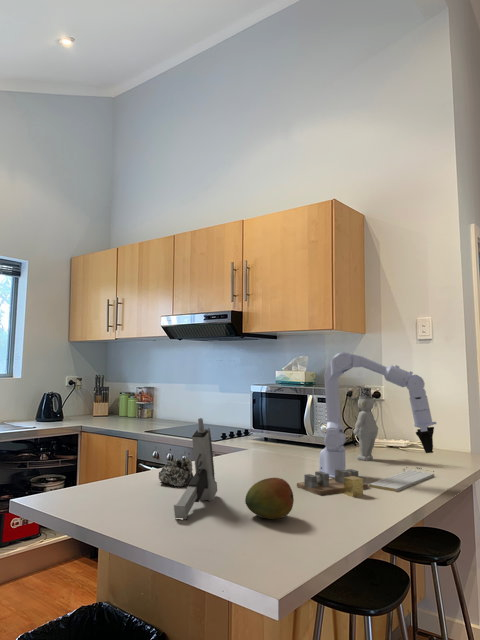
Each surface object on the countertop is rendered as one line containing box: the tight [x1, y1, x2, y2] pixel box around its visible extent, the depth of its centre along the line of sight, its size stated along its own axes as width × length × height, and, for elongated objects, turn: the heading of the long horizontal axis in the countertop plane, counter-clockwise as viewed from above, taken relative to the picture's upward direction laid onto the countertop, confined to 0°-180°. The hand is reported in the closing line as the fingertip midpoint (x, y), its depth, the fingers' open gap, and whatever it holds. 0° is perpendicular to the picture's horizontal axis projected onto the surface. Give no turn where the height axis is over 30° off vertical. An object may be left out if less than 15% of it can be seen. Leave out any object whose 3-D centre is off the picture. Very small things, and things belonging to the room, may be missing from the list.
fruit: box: [245, 477, 294, 520], centre depth 122 cm, size 12×12×10 cm
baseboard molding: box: [368, 466, 435, 493], centre depth 165 cm, size 31×3×12 cm
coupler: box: [343, 476, 364, 498], centre depth 146 cm, size 4×4×5 cm
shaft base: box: [296, 468, 369, 496], centre depth 154 cm, size 12×19×5 cm, turn 119°
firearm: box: [173, 417, 218, 519], centre depth 131 cm, size 4×24×25 cm
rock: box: [158, 457, 194, 488], centre depth 159 cm, size 13×10×10 cm
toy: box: [353, 387, 379, 462], centre depth 205 cm, size 18×9×30 cm, turn 136°
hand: (429, 451), depth 162 cm, fingers open, 7 cm apart
